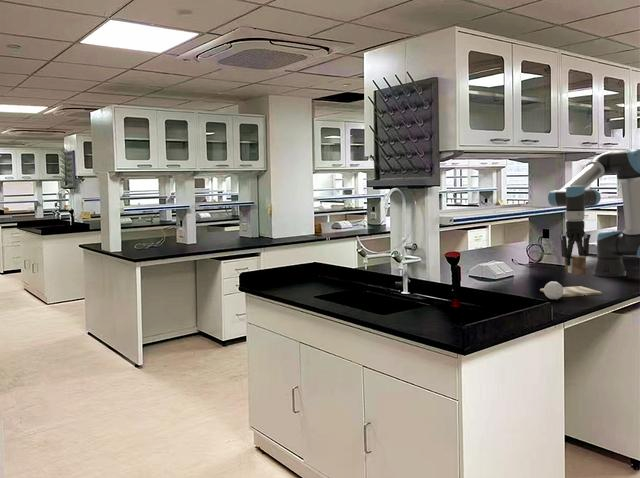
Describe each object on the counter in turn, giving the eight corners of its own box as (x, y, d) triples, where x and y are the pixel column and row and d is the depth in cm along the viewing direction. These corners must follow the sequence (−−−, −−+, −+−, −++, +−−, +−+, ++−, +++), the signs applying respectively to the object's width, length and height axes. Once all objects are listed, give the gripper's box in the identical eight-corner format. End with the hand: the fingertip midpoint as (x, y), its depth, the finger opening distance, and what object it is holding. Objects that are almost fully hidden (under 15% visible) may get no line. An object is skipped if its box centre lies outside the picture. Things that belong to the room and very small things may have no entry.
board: (580, 288, 263) (580, 286, 263) (601, 294, 248) (601, 292, 247) (540, 290, 261) (539, 288, 261) (558, 297, 245) (558, 294, 245)
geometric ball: (549, 305, 241) (537, 291, 242) (555, 296, 247) (543, 282, 247) (563, 299, 236) (551, 284, 236) (570, 289, 241) (557, 275, 241)
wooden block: (573, 271, 259) (572, 254, 258) (585, 274, 249) (585, 256, 248) (564, 272, 258) (564, 254, 258) (577, 275, 249) (577, 257, 248)
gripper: (561, 221, 247) (561, 274, 249) (598, 220, 249) (597, 272, 251) (552, 220, 255) (552, 272, 256) (588, 219, 257) (588, 270, 258)
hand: (575, 272), depth 254 cm, fingers closed on wooden block, 4 cm apart
